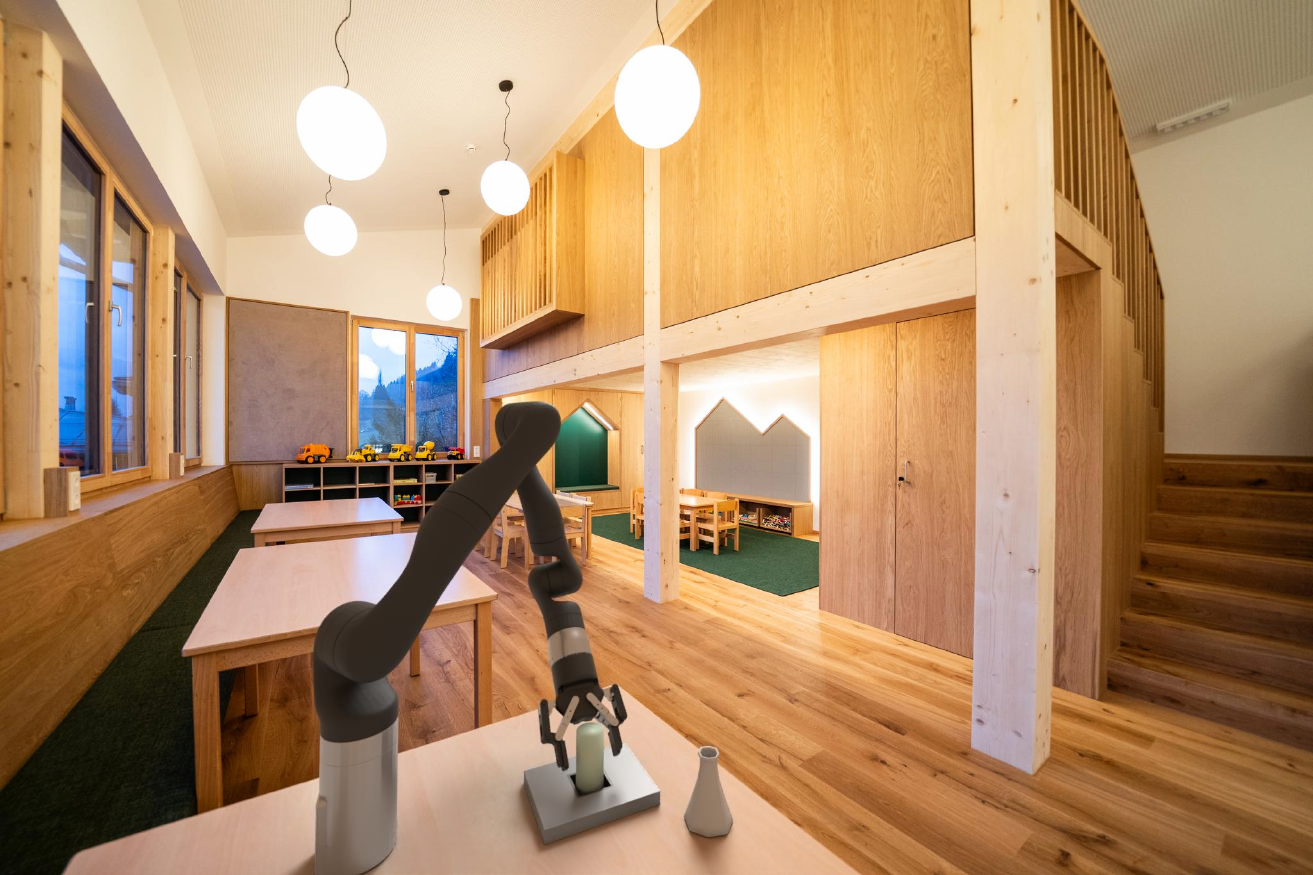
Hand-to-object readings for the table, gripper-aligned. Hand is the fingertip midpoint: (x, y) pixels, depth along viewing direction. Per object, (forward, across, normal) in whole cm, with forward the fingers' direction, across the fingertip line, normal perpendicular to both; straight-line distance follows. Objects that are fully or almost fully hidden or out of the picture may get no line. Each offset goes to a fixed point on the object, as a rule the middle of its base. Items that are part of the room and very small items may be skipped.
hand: (592, 761), depth 78 cm
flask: (+13, +14, -4) cm, 19 cm away
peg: (+3, 0, +5) cm, 6 cm away
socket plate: (+3, 0, +5) cm, 6 cm away
